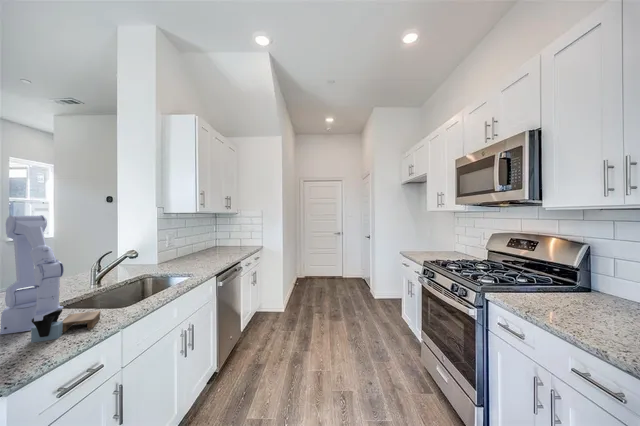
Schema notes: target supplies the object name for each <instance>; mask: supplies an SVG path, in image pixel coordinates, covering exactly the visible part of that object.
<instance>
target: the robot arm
mask: <svg viewBox="0 0 640 426" xmlns="http://www.w3.org/2000/svg"><path fill="white" fill-rule="evenodd" d="M47 221H48V220H47V218H46V217H45V216H44V215H13V214H10V215H8V217H7V218H6V220H5V234H6V238H9V239H11V240H12V241H13V246H14V247H13V248H14V260H15V275H16V276H15V277H16V281H15V282H13V283H12V284H10V285H9V286H8V287H7V288H6V289H5V296H4V302H5V306H6V308H4V309H3V311H2V312H1V315H0V335H6V334H7V335H8V334H15V333H21V332H22V333H23V332H31V328H32V327H34V326H36V328H37V330H38V333H39V336H40V337H46V336H49V333H50V328H51V324H52V322H58V320H59V318H60V316H61V313H62V312H63V309H64V306H63V305H62V306H61V302H60V296H59V289H60V286H61V285H60V281H61V279H60V278H61V277H62V276H63V275H64V271H65V270H64V265H63V262H62V261H60V260H59V259H57V258H56V256H55V253H54V250H53V248H52V247H51V246H49V245H47V242H46V239H45V235H44V234H45V232H46V228H47V227H48V222H47Z"/></svg>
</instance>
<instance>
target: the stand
mask: <svg viewBox="0 0 640 426" xmlns="http://www.w3.org/2000/svg"><path fill="white" fill-rule="evenodd" d="M100 315H101V310H96V311H86V312H78V313H70V314H68V315H67V316H66V317H64V319H62V321H63V330H62V333H66V332H68V330H70V328H71V327H72V326H73V325H79V324H86V325H87V327H86V329H87V330H89V329H90V330H91V329H93V328H94V327H95V326H96V324H97V323H98V322H99V321H100V319H101V317H100Z"/></svg>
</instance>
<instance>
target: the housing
mask: <svg viewBox="0 0 640 426" xmlns="http://www.w3.org/2000/svg"><path fill="white" fill-rule="evenodd" d="M62 330H63V320H59V321H58V320H57V322H52V324H51V328H50V333H49V336H46V337H40V336H39V333H38V330H37V328H36V326H34V327H32V328H31V331H30V343H31V344H32V343H38V342H44V341H45V342H46V341H51V340H59V338H60V337H61V336H62V335H63V332H62Z"/></svg>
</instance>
